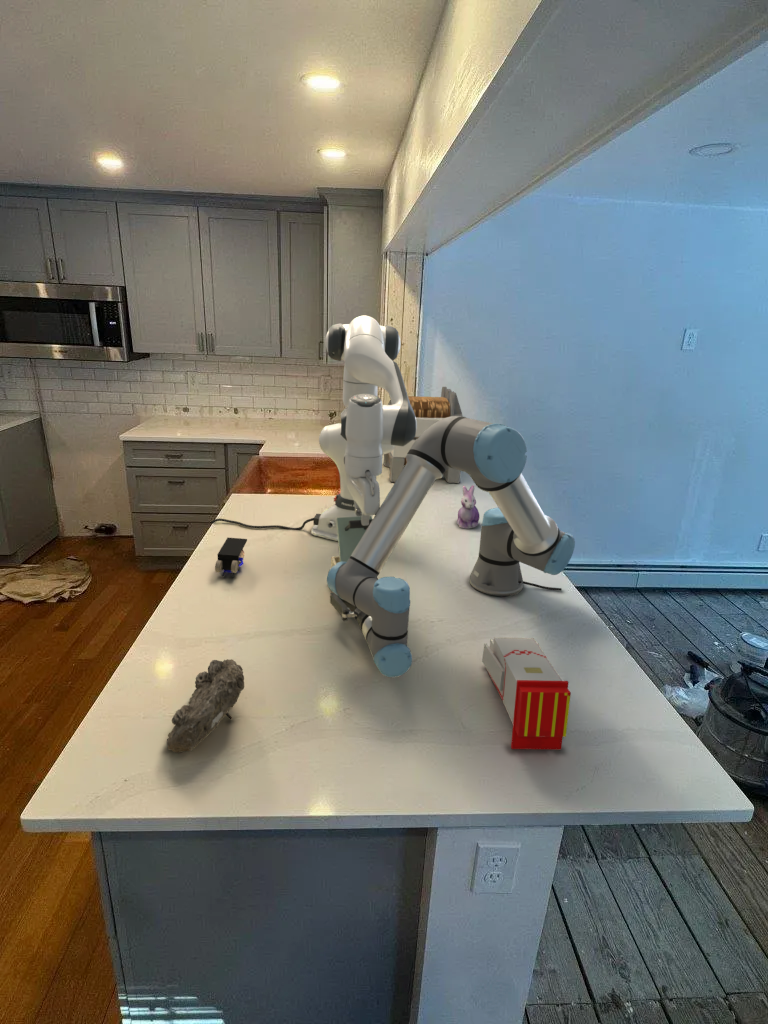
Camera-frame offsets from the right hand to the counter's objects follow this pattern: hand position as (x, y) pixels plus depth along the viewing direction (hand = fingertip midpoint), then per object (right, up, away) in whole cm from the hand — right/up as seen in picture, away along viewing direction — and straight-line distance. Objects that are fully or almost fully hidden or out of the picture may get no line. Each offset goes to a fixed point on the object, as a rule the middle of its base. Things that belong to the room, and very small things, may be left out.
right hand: (356, 581), depth 149 cm
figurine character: (-38, +1, +19) cm, 42 cm away
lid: (0, +9, -2) cm, 9 cm away
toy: (+35, -21, -33) cm, 52 cm away
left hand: (+2, +16, -10) cm, 19 cm away
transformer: (+25, +37, +126) cm, 134 cm away
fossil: (-25, -21, -41) cm, 52 cm away
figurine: (+39, +13, +62) cm, 74 cm away
